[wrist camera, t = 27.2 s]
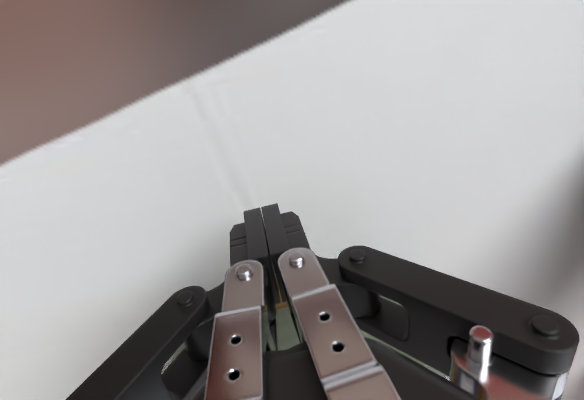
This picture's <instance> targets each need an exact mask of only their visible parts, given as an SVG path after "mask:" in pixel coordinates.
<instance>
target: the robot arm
mask: <svg viewBox="0 0 584 400" xmlns="http://www.w3.org/2000/svg"><path fill="white" fill-rule="evenodd" d="M261 209H262V213H261V210H260V208H256V209H252V210H248V211H244V220H245V223H241V224H237V225H234V226H233V228H232V230H231V231H230V263H231V267H230V268H229V269H228V271H227V272H226V275H225V281H224V282H223V283H222V284H221V285H219V286H217V287H216V288H214V289H212V290H210V291H208V292H206V291H205V290H204V289H203V288H202V287H199V286H190V287H186V288H183V289H181V290H179V291H177V292H176V293H174V294H173V295H172V296H171V297H170V298H169V299H168V300H167V301H166V302H165V303H164V304H163V305H162V306H161V307H160V308H159V309H158V310H157V311H156V312H155V313H154V314H153V315H152V316H151V317H150V318H149V319H148V320H146V321H145V322H144V323H143V324H142V325H141V326H140V327H139V328H138V329H137V330H136V331H135V332H134V333H133V334H132V335H131V336H130V337H129V338H128V339H127V340H126V341H125V342H124V343H123V344H122V345H121V346H120V347H119V348H118V349H117V350H116V351H115V352H114V353H113V354H112V355H111V356H110V357H109V358H108V359H107V360H106V361H105V362H104V363H103V364H102V365H100V366H99V367H98V368H97V369H96V370H95V371H94V372H93V373H92V374H91V375H90V376H89V377H88V378H87V379H86V380H85V381H84V382H83V383H82V384H81V385H80V386H79V387H78V388H77V389H76V390H75V391H74V392H73V393H72V394H71V395H70V396H69V397H68V398H67V399H66V400H560V399H561V396H562V393H563V390H564V387H565V384H566V381H567V378H568V374H569V371H570V368H571V365H572V362H573V359H574V356H575V352H576V349H577V346H578V343H579V334H578V331H577V330H576V328H575V327H574V325H573V324H572V323H571V322H570V321H568V320H567V319H566V318H564V317H563V316H561V315H559V314H557V313H555V312H553V311H550V310H547V309H544V308H542V307H539V306H536V305H533V304H530V303H527V302H524V301H521V300H519V299H516V298H513V297H510V296H507V295H504V294H501V293H498V292H496V291H493V290H490V289H487V288H484V287H481V286H478V285H475V284H473V283H470V282H467V281H464V280H461V279H458V278H455V277H453V276H450V275H447V274H444V273H441V272H438V271H435V270H432V269H430V268H427V267H424V266H421V265H418V264H415V263H412V262H409V261H407V260H404V259H401V258H398V257H395V256H392V255H389V254H386V253H384V252H381V251H378V250H375V249H372V248H369V247H366V246H352V247H349V248H346V249H345V250H343V251H342V252H341V253H340V254H339V256H338V259H326V258H321V257H318V256H316V255H315V254H314V252H313V251H311V249H310V246H309V244H308V241H307V238H306V236H305V233H304V230H303V227H302V225H301V222H300V219H299V217H298V216H297V215H296V214H294V213H293V212H292V211H291V212H287V213H283V214H280V211H279V208H278V204H273V205H268V206H264V207H261ZM262 214H263V217H262ZM263 219H264V221H263ZM264 224H265V225H264ZM275 274H276V275H275ZM276 278H277V280H276ZM277 282H278V286H279V290H280V294H281V298H282V302H287V303H288V307H289V311H290V315H291V319H292V322H293V325H294V328H295V331H296V334H297V337H298V340H299V344H297V345H295V346H293V347H291V348H290V349H287V350H280V346H279V333H278V321H277V317H276V314H277V311H276V305H275V304H279V303H281V301H280V296H279V291H278V286H277ZM381 296H383V297H386V298H388V299H390V300H393V301H395V302H397V303H399V304H401V305H402V306H401V305H398V304H396V303H394V302H391V301H389V300H387V299H385V298H382V297H381ZM360 330H362V331H364V332H366V333H368V334H370V335H372V336H373V337H375V338H377V339H379V340H381V341H383V342H385V343H387V344H389V345H391V346H392V347H394V348H396V349H398V350H400V351H402V352H404V353H406V354H408V355H409V356H411V357H413V358H415V359H417V360H419V361H421V362H423V363H425V364H426V365H428V366H430V367H432V368H434V369H436V370H438V371H440V372H442V373H443V374H445V375H447V376H449V377H450V380H451V382H450V381H448V380H447V379H445V378H443V377H442V376H440V375H438V374H436V373H435V372H433V371H431V370H429V369H428V368H426V367H424V366H422V365H421V364H419V363H417V362H415V361H414V360H412V359H410V358H408V357H407V356H405V355H403V354H401V353H400V352H398V351H396V350H394V349H393V348H391V347H389V346H387V345H386V344H384V343H381V342H379V341H377V340H373V339H370V338H365V337H363V335H362V333H361V331H360ZM182 343H183V345H184V347H185V348H184V349H183V350H182V351H181V352H180V353H179V355H178V356H177V357H176V358H175V359H174V360H173V362H172V363H171V364H170V365H169V366H168V367H167V369H166V370H165V371H164V372H163V373H162V374H161V372H162V369H163V366H164V365H165V363H166V362H167V361H168V360H169V358H170V357H171V356H172V355H173V354H174V353H175V351H176V350H177V349H178V348H179V347H180V346H181V345H182Z"/></svg>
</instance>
